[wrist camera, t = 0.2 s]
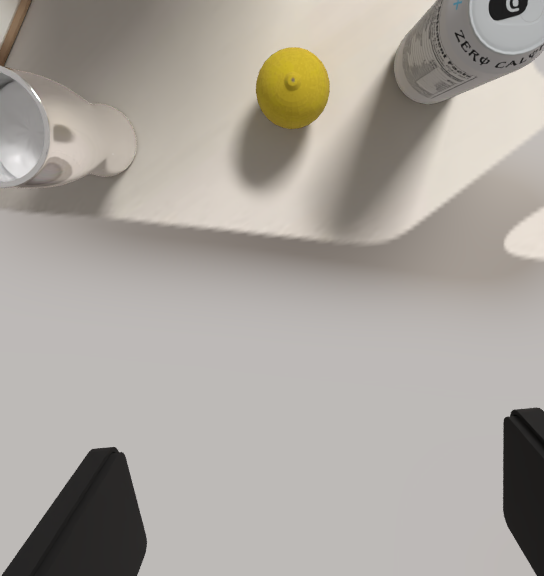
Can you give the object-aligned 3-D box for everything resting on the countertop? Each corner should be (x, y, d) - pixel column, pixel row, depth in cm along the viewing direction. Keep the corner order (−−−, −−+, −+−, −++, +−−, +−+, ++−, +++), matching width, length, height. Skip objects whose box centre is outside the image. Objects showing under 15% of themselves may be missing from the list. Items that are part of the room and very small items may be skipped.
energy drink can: (469, 95, 37) (585, 51, 22) (397, 113, 37) (463, 81, 23) (462, 15, 35) (580, -88, 21) (385, 35, 36) (449, -52, 21)
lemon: (328, 127, 38) (337, 118, 30) (263, 135, 38) (256, 128, 30) (322, 57, 36) (330, 28, 29) (256, 66, 37) (246, 40, 29)
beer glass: (56, 165, 40) (-79, 166, 25) (73, 86, 38) (-62, 37, 23) (131, 192, 40) (39, 209, 26) (151, 115, 38) (65, 85, 24)
